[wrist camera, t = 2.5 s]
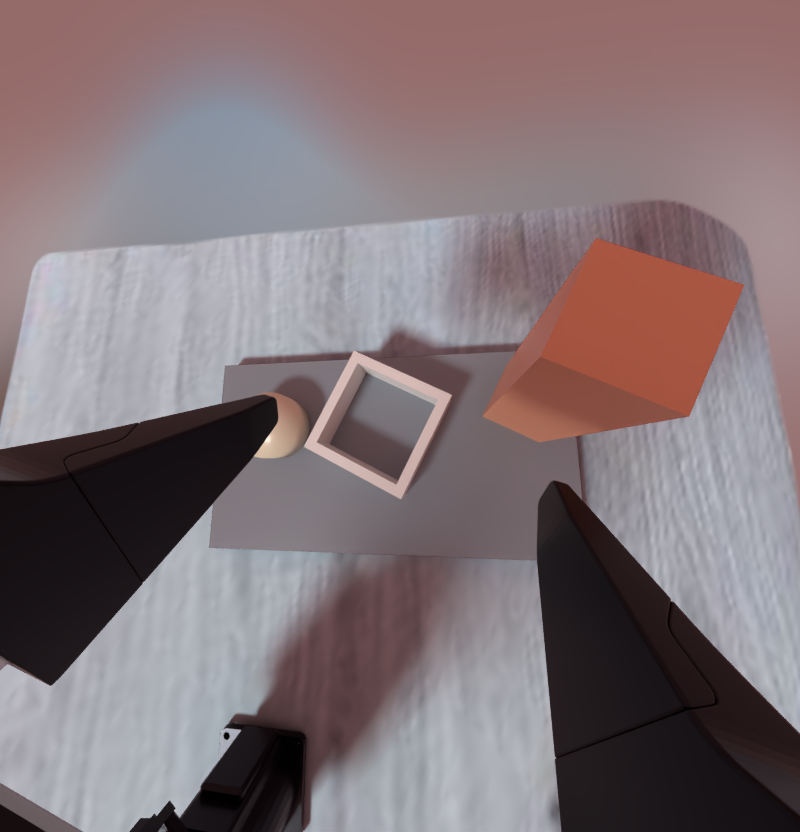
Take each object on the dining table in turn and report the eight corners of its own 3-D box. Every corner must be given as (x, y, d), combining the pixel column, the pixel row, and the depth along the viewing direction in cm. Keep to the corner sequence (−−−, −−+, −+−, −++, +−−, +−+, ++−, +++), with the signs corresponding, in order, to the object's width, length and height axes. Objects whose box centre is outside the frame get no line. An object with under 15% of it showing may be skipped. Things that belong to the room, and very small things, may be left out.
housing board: (581, 557, 21) (609, 577, 17) (218, 544, 24) (182, 558, 21) (562, 353, 23) (584, 334, 19) (232, 369, 27) (202, 356, 23)
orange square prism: (539, 442, 21) (689, 416, 8) (482, 416, 22) (540, 356, 9) (563, 388, 22) (744, 285, 9) (506, 364, 22) (595, 238, 10)
